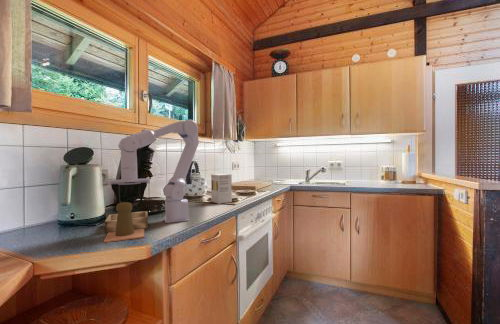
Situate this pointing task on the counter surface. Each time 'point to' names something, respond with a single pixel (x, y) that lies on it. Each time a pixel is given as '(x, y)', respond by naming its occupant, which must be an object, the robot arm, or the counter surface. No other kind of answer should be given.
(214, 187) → the supplement box
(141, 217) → the birch box
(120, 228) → the cork
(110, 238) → the terracotta tile
